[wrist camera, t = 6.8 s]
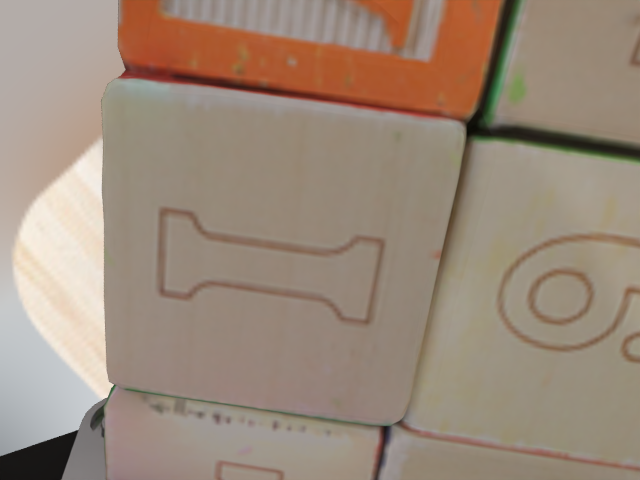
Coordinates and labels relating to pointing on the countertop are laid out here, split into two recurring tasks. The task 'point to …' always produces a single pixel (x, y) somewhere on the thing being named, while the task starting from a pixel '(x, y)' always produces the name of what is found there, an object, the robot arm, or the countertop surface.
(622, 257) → the stack of blocks
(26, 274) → the countertop surface
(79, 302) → the countertop surface
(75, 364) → the countertop surface
